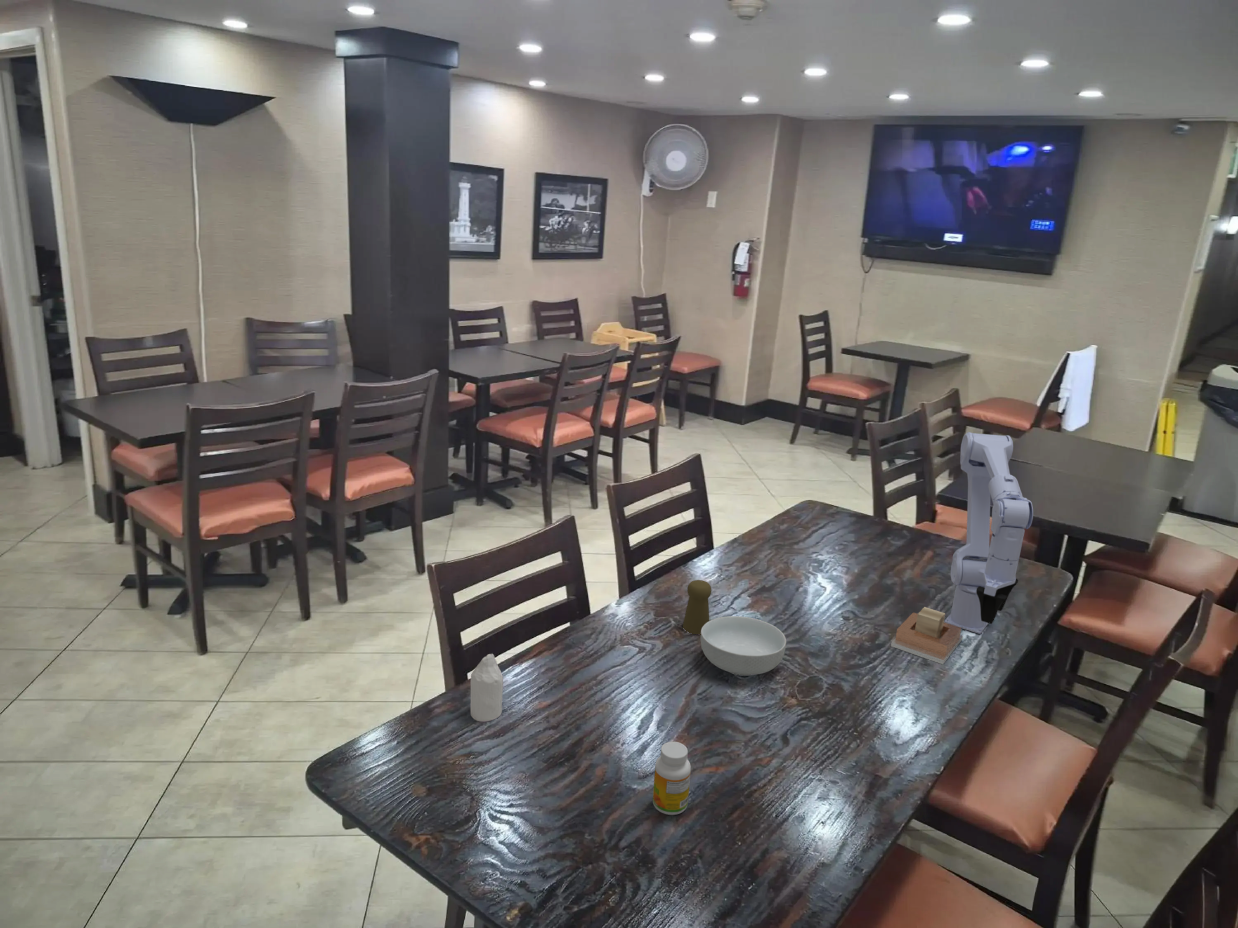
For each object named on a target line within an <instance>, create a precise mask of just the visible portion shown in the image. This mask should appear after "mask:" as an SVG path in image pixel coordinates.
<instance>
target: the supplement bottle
mask: <svg viewBox="0 0 1238 928" xmlns="http://www.w3.org/2000/svg"><path fill="white" fill-rule="evenodd" d="M688 755H689V754H688V748H687V746H686V745H685V744H683V743H681V742H678V741H667V742H665V743H664V744H662V745H661V749H660V756H658V757H657V759H656V761H655V765H654V777H653V788H652V789H653V792H652V804H653V806H654V808H655V809H656V810H657V811H659V812H660V813H662V814H664V815H667V816H668V815H669V816H675V815H680V814H681V813H684V811H686V810H687V808H688V803H689V795H690V782H691V774H692V773H691V772H692V770H691V769H692V767H691V763H690V761H689V759H688Z"/></svg>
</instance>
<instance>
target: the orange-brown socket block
mask: <svg viewBox="0 0 1238 928" xmlns="http://www.w3.org/2000/svg"><path fill="white" fill-rule="evenodd" d="M917 615H918V613H916V612H912V613H911V614H910V615H909V616H908V617H907V618H906V619H905V620H904V621H903V622H902V623H901V625H899V626H898V627H897V629H896V634H895V638H894V639H893V640H892V641H891V642H890V643H891V644H890V647H892V648H895V649H898V650H901V651H904V652H906V653H909V654H912V655H915V656H918V657H921V658H923V659H926V660H930V661H932V662H935V663H937V664H941V665H945V663H946V662H947V660H948V659H949V657H950V656H951V655H952V653H953V652H954V651H955V649H957V648H958V646H959V644H961V642H962V640H963V638H964V637H963V636H964V635H962V634H961V632H962V628H960V627H957V626H954V625H951V624H948V623H945V622H944V624H943V629H942V635H941V639H938V638H935V637H932V636H929V635H926V634H923V633H920V632H917V631H915V627H916V621H917Z"/></svg>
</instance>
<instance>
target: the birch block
mask: <svg viewBox="0 0 1238 928" xmlns="http://www.w3.org/2000/svg"><path fill="white" fill-rule="evenodd" d="M917 614H918V615H917V621H916V627H915V631H917V632H920V633H923V634H926V635H929V636H932V637H935V638H938V639H941V635H942V629H943V624H944V621H945V619H946V613H945V612H941V611H938V610H935V609H932V608H929V607H926V606H924V607H923V608H922V609H920V611H919V612H918V613H917Z"/></svg>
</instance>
